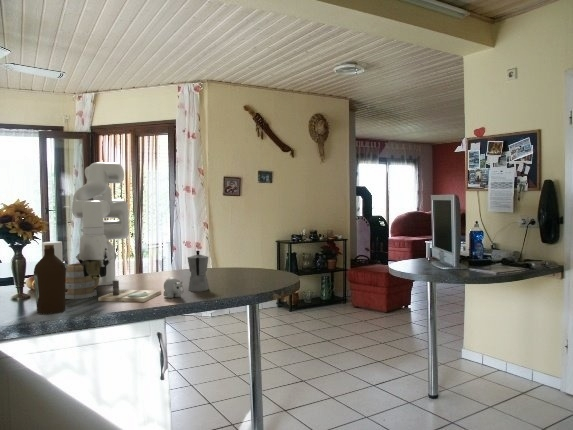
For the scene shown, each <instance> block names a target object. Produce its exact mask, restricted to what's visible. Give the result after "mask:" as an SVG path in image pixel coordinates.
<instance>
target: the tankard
mask: <svg viewBox="0 0 573 430" xmlns="http://www.w3.org/2000/svg"><path fill="white" fill-rule="evenodd" d="M65 268H66V285H65V290H66V291H67V292H66V291H65V300H72V299H75V300H83V299H84V298H86V299H90V298H93V296H94V297H97V295H98V293H97V289H96V288H98V286H99V285H98V283H99V279H96V280H92V279H91V278H90V277H91V275H89V276H86V277H84V273H83V267H82V264H81V263H80V262H78V263H77V262H76V263H70V264H67V265H65ZM89 297H90V298H89ZM84 300H85V299H84Z"/></svg>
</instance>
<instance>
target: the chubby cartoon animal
mask: <svg viewBox="0 0 573 430" xmlns="http://www.w3.org/2000/svg"><path fill="white" fill-rule="evenodd" d="M163 289H164V290H163V297H165V298H166V297H167V299H173V298H180V297H181V296H182V295H183V294H185V290H184V285H183V280H180V279H179V278H177V277H173V276H170V277H168V278H166V279H165V281H164V283H163Z"/></svg>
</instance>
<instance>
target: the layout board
mask: <svg viewBox="0 0 573 430" xmlns="http://www.w3.org/2000/svg"><path fill="white" fill-rule="evenodd" d="M118 280H119V279H117V280H115V281H113V284H112V291H111V292H110V293H107V294H104V295H101V296H99V297H98V300H97V301H98V302H122V301H124V302H126V303H127V302H128V303H130V302H132V303H134V302H135V303H137V302H139V303H144V302H147V301H149V300H151V299H152V298H156V297H157V296H159V295H161V294H162V290H158V289H157V290H156V289H151V290H150V289H120V282H119V281H120V280H119V281H118Z"/></svg>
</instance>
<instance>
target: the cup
mask: <svg viewBox="0 0 573 430" xmlns="http://www.w3.org/2000/svg"><path fill="white" fill-rule="evenodd" d="M84 261H85V260H84ZM103 263H104V260H103ZM85 267H86V271H87V273H88V274H89V275H91V277H90V278H91V279H92V280H96V279H99V278H100V267H101V261H100V262H99V261H90V262H89V261H85Z"/></svg>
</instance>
